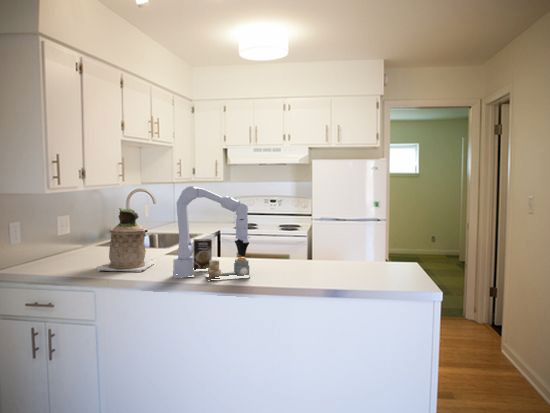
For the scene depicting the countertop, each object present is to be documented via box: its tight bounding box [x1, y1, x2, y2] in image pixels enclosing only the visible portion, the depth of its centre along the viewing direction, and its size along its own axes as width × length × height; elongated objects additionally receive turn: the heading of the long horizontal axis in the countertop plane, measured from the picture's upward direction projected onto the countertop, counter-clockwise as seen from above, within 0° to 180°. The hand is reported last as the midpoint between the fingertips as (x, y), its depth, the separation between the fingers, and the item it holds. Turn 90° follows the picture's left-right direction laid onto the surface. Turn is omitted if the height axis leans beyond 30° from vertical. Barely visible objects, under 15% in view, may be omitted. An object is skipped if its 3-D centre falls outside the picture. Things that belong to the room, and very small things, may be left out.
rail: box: [209, 270, 236, 277], centre depth 196 cm, size 13×2×2 cm, turn 109°
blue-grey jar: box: [233, 258, 250, 276], centre depth 198 cm, size 6×8×7 cm, turn 19°
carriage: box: [207, 259, 222, 276], centre depth 194 cm, size 5×6×7 cm
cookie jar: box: [96, 207, 157, 273], centre depth 216 cm, size 25×25×32 cm
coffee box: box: [192, 238, 213, 271], centre depth 211 cm, size 9×6×16 cm
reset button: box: [237, 256, 246, 261], centre depth 198 cm, size 4×4×2 cm
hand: (241, 255), depth 198 cm, fingers open, 3 cm apart
